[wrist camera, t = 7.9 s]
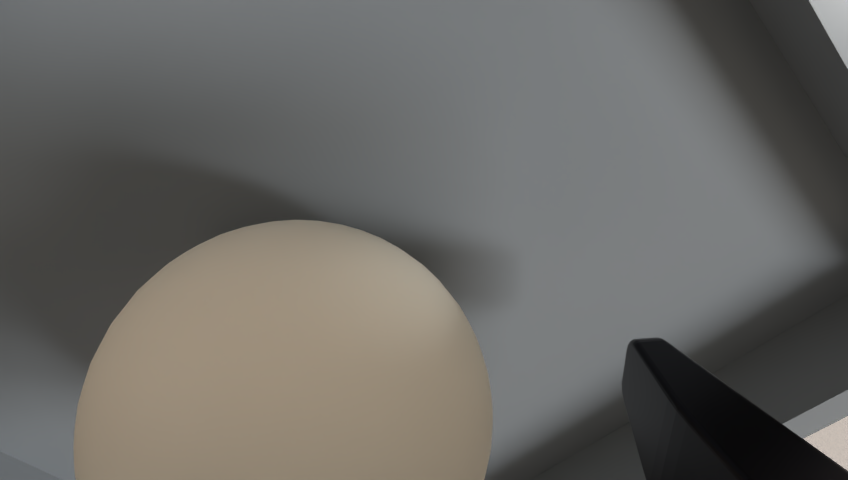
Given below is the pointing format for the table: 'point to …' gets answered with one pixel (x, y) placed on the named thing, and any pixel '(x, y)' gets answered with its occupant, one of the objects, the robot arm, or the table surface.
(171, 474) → the ball
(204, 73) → the tray
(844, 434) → the table surface
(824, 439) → the table surface
